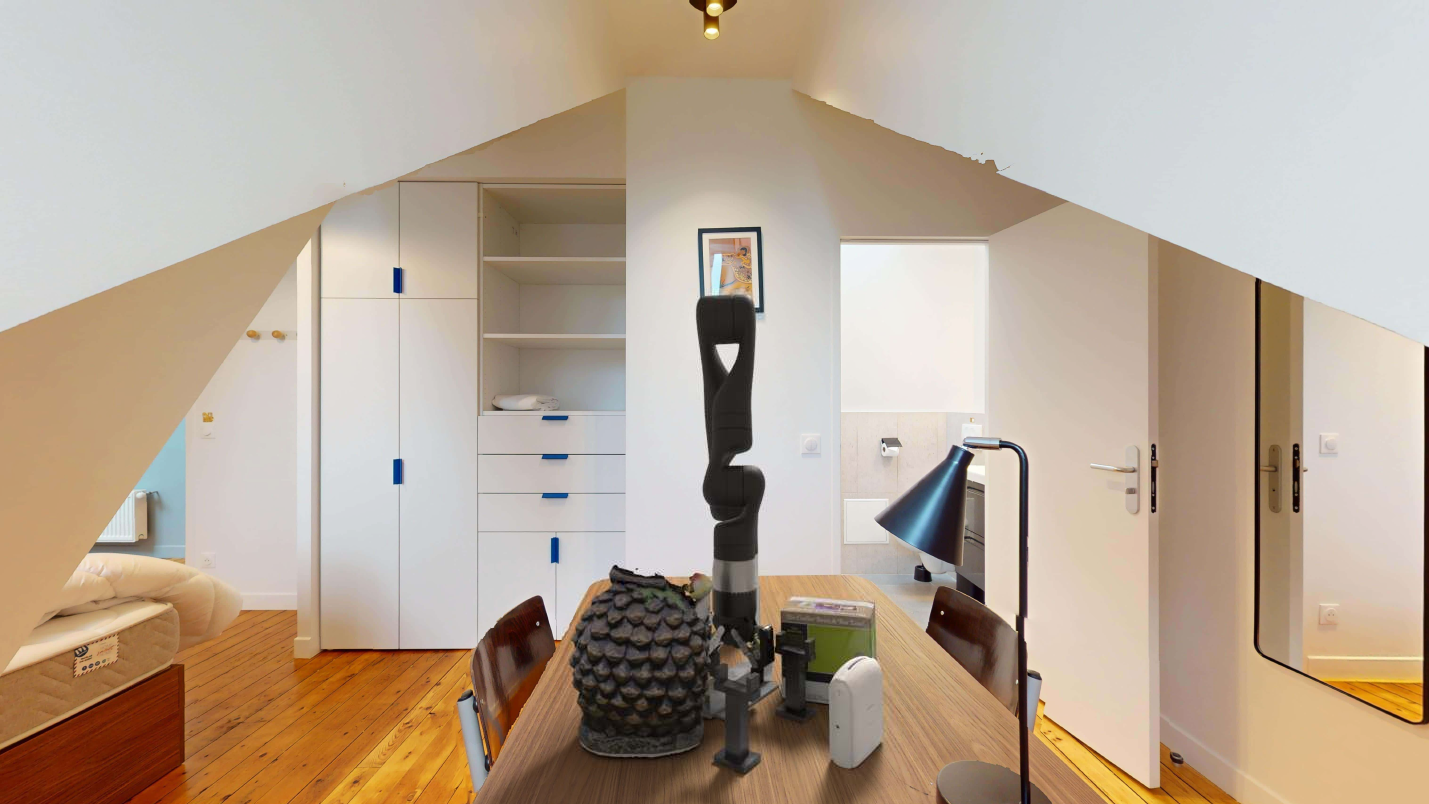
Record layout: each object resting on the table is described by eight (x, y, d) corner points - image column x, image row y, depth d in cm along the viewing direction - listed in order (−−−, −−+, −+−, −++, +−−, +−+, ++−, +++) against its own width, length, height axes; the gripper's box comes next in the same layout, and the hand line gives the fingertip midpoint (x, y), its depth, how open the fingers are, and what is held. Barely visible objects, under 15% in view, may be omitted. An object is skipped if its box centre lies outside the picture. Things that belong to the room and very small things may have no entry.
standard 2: (784, 703, 96) (783, 628, 96) (820, 714, 92) (819, 637, 92) (771, 712, 92) (771, 635, 93) (807, 725, 88) (807, 644, 89)
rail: (755, 673, 106) (755, 653, 106) (772, 678, 104) (772, 658, 104) (692, 712, 92) (692, 689, 92) (709, 718, 90) (709, 695, 90)
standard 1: (726, 746, 83) (726, 660, 83) (765, 762, 79) (764, 671, 79) (709, 759, 80) (709, 669, 80) (748, 776, 76) (748, 682, 76)
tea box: (877, 686, 102) (876, 600, 102) (873, 713, 92) (872, 618, 93) (792, 674, 107) (791, 592, 107) (780, 699, 97) (779, 608, 98)
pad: (740, 674, 106) (740, 672, 106) (778, 686, 101) (778, 684, 101) (687, 706, 94) (687, 704, 94) (727, 722, 89) (727, 719, 89)
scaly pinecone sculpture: (712, 712, 92) (712, 553, 93) (714, 768, 77) (714, 578, 78) (580, 714, 92) (581, 554, 93) (556, 771, 77) (557, 579, 78)
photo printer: (854, 774, 76) (853, 677, 77) (825, 761, 79) (824, 668, 79) (887, 741, 84) (886, 653, 85) (859, 731, 87) (858, 646, 87)
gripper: (782, 586, 97) (783, 685, 97) (714, 573, 106) (714, 664, 105) (757, 596, 91) (758, 702, 91) (687, 582, 100) (687, 678, 99)
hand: (734, 682), depth 98 cm, fingers open, 8 cm apart
